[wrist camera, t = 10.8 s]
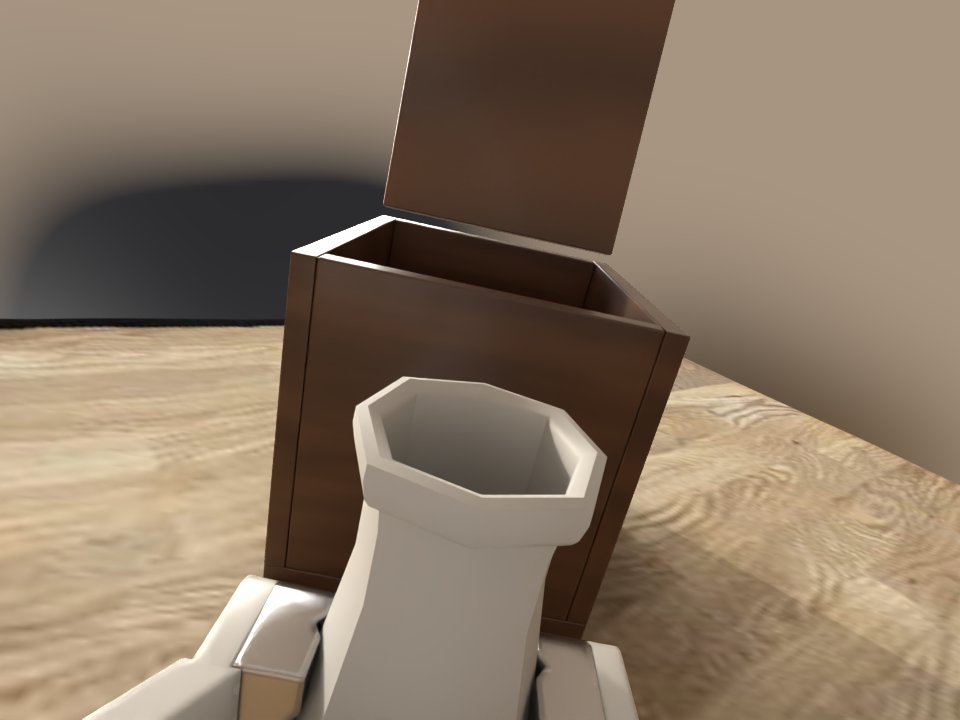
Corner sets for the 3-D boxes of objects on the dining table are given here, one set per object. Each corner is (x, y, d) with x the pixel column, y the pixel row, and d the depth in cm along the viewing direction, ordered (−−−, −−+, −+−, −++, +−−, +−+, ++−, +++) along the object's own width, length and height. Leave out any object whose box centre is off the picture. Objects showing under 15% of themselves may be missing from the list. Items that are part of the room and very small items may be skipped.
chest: (580, 640, 21) (691, 336, 17) (262, 580, 20) (290, 251, 16) (549, 461, 34) (607, 263, 29) (353, 422, 33) (382, 214, 29)
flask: (590, 1308, 7) (1035, 806, 3) (3, 1243, 6) (-156, 600, 3) (539, 734, 14) (669, 379, 10) (255, 686, 13) (293, 299, 10)
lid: (684, -35, 26) (677, -25, 27) (435, -95, 26) (436, -83, 27) (611, 255, 29) (607, 255, 30) (382, 204, 28) (385, 207, 29)
